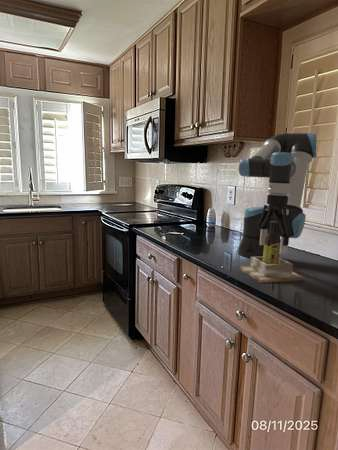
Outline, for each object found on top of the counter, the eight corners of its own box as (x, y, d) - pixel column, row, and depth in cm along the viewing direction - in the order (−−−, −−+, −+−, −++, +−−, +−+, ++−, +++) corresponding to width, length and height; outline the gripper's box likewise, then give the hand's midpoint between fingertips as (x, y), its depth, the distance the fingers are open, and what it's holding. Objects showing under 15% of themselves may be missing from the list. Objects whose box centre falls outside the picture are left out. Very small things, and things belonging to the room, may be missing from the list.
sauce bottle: (271, 274, 120) (276, 223, 117) (258, 270, 125) (262, 220, 122) (281, 272, 124) (286, 222, 121) (268, 267, 129) (272, 219, 125)
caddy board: (239, 268, 130) (240, 255, 129) (277, 267, 134) (279, 254, 133) (260, 282, 114) (262, 267, 113) (302, 280, 119) (304, 265, 118)
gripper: (252, 191, 130) (247, 241, 133) (290, 197, 106) (283, 258, 110) (268, 192, 132) (263, 241, 135) (308, 197, 108) (301, 257, 112)
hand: (272, 249), depth 123 cm, fingers open, 13 cm apart
